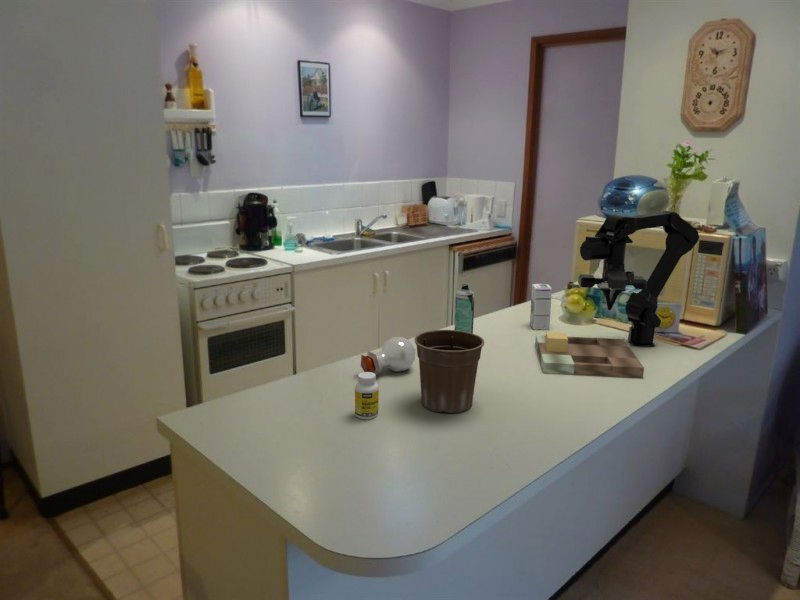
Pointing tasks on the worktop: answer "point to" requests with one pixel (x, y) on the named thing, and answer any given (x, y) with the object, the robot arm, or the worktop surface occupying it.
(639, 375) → the trap board
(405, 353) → the potion bottle
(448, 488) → the worktop surface
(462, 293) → the spray can
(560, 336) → the ochre block
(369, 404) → the supplement bottle
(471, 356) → the plant pot
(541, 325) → the syrup box
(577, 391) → the worktop surface
